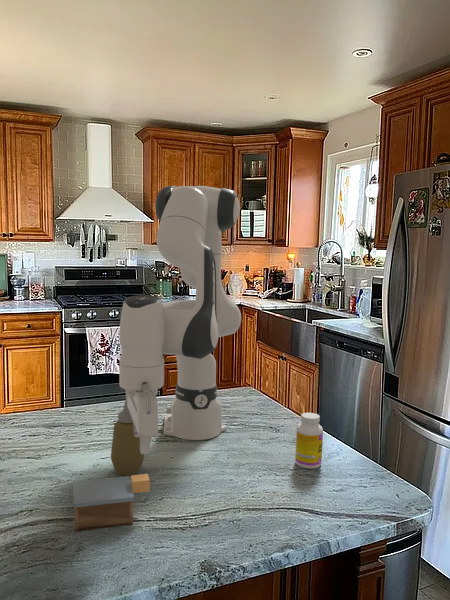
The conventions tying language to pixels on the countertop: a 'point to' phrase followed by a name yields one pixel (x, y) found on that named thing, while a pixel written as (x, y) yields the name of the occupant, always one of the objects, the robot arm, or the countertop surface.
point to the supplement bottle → (309, 441)
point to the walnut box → (103, 516)
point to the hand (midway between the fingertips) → (141, 444)
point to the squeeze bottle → (125, 445)
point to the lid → (109, 490)
